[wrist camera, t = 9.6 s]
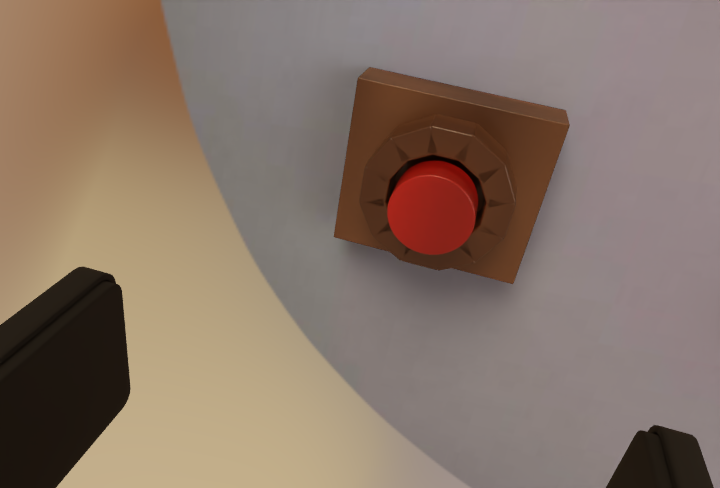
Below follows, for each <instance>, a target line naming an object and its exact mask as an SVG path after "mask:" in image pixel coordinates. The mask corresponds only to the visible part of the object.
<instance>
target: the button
mask: <svg viewBox="0 0 720 488" xmlns="http://www.w3.org/2000/svg"><path fill="white" fill-rule="evenodd" d="M477 208H478V194H477V190H476V187H475V185H474V183H473V181H472V180H471V178H470V177H469V176H468V175H467V174H466V173H465V172H464V171H463V170H462V169H460V168H459V167H457V166H455V165H453V164H451V163H448V162H444V161H436V160H432V161H425V162H421V163H418V164H416V165H414V166H412V167H411V168H409V169H408V170H407V171H406V172H404V174H403V175H402V176H401V177H400V179H399V181H398V183H397V185H396V187H395V189H394V191H393V193H392V195H391V197H390V199H389V203H388V207H387V217H388V222H389V226H390V228H391V230H392V232H393V233H394V235H395V236H396V238H397V239H398V240H399V241H400V242H401V243H402V244H404V245H405V246H406V247H408V248H410V249H411V250H414V251H416V252H419V253H422V254H428V255H439V254H445V253H448V252H451V251H453V250H455V249H457V248H459V247H460V246H461V245H463V244H464V243H465V242H466V241H467V239H468V238H469V237H470V235H471V233H472V231H473V229H474V226H475V221H476V214H477Z"/></svg>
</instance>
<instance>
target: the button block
mask: <svg viewBox="0 0 720 488" xmlns="http://www.w3.org/2000/svg"><path fill="white" fill-rule="evenodd" d="M569 126H570V125H569V121H568V117H567V113H566V110H562V109H557V108H553V107H548V106H543V105H539V104H534V103H530V102H525V101H521V100H516V99H512V98H507V97H503V96H498V95H494V94H489V93H484V92H480V91H475V90H471V89H466V88H462V87H457V86H453V85H448V84H444V83H439V82H435V81H430V80H425V79H421V78H416V77H412V76H407V75H403V74H398V73H394V72H389V71H385V70H380V69H376V68H371V67H369V68H368V69H367V70H366V71H365V72H364V73H363V74H362V75H361V76H359V77H358V81H357V87H356V94H355V100H354V107H353V113H352V120H351V127H350V133H349V140H348V146H347V153H346V159H345V166H344V173H343V179H342V186H341V192H340V199H339V205H338V212H337V219H336V225H335V232H334V237H336V238H340V239H344V240H347V241H351V242H355V243H359V244H363V245H366V246H370V247H374V248H378V249H382V250H385V251H389V252H391V253H392V254H393V255H394V256H396V257H397V258H398V259H399V260H402V261H405V262H408V263H412V264H416V265H420V266H423V267H427V268H431V269H435V270H437V269H438V270H443V269H448V268H454V269H458V270H461V271H465V272H469V273H473V274H477V275H480V276H484V277H488V278H492V279H496V280H499V281H503V282H507V283H511V284H513V283H514V280H515V277H516V274H517V271H518V269H519V266H520V263H521V260H522V257H523V255H524V252H525V249H526V246H527V243H528V241H529V238H530V235H531V232H532V229H533V227H534V224H535V221H536V218H537V215H538V213H539V210H540V207H541V204H542V201H543V199H544V196H545V193H546V190H547V187H548V185H549V182H550V179H551V176H552V173H553V171H554V168H555V165H556V162H557V159H558V157H559V154H560V151H561V148H562V145H563V143H564V140H565V137H566V134H567V131H568V129H569ZM432 160H436V161H444V162H448V163H451V164H453V165H455V166H457V167H459V168H460V169H462V170H463V171H464V172H465V173H466V174H467V175H468V176H469V177H470V178H471V180H472V181H473V183H474V185H475V187H476V190H477V194H478V208H477V214H476V221H475V226H474V229H473V231H472V233H471V235H470V237H469V238H468V239H467V241H466V242H465V243H464V244H463V245H461V246H460V247H459V248H457V249H455V250H453V251H451V252H448V253H445V254H439V255H428V254H422V253H419V252H416V251H414V250H411V249H410V248H408V247H406V246H405V245H404V244H402V243H401V242H400V241H399V240H398V239H397V238H396V236H395V235H394V233H393V232H392V230H391V228H390V226H389V222H388V217H387V207H388V203H389V199H390V197H391V195H392V193H393V191H394V189H395V187H396V185H397V183H398V181H399V179H400V177H401V176H402V175H403V174H404V172H406V171H407V170H408V169H409V168H411V167H412V166H414V165H416V164H418V163H421V162H425V161H432Z"/></svg>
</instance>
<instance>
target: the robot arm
mask: <svg viewBox="0 0 720 488" xmlns="http://www.w3.org/2000/svg"><path fill="white" fill-rule="evenodd" d="M129 394H130V379H129V367H128V357H127V344H126V333H125V321H124V310H123V298H122V290H121V287H120V286H119V285H118V284H116V282H115V279H114V277H113V276H112V275H111V274H108V273H104V272H101V271H97V270H94V269H90V268H86V267H78V268H76V269H75V270H73V271H72V272H71V273H69V274H68V275H66V276H65V277H64V278H62V279H61V280H60V281H59V282H57V283H56V284H54V285H53V286H52V287H50V288H49V289H48V290H47V291H45V292H44V293H42V294H41V295H40V296H38V297H37V298H36V299H34V300H33V301H32V302H31V303H29V304H28V305H26V306H25V307H24V308H22V309H21V310H20V311H18V312H17V313H16V314H14V315H13V316H12V317H11V318H9V319H8V320H6V321H5V322H4V323H3V324H1V325H0V488H56V487H57V486H58V484H59V483H60V482H61V481H62V480H63V478H64V477H65V476H66V475H67V474H68V473H69V471H70V470H71V469H72V468H73V467H74V465H75V464H76V463H77V462H78V460H80V458H81V457H82V456H83V455H84V454H85V452H86V451H87V450H88V449H89V448H90V446H91V445H92V444H93V443H94V442H95V440H96V439H97V438H98V437H99V436H100V435H101V433H102V432H103V431H104V430H105V429H106V427H107V426H108V425H109V424H110V423H111V422H112V420H113V419H114V418H115V417H116V416H117V414H118V413H119V412H120V411H121V410H122V408H123V407H124V405H125V404H126V402H127V400H128V397H129ZM606 488H714V487H713V484H712V482H711V479H710V476H709V473H708V470H707V467H706V464H705V461H704V458H703V455H702V452H701V450H700V447H699V444H698V442H697V440H696V438H695V437H694V436H693V435H690V434H687V433H683V432H679V431H676V430H672V429H669V428H665V427H661V426H658V425H654V426H652V427H651V428H650V429H649V431H648V432H646V431H641V430H640V431H638V432H637V433H636V435H635V436H634V438H633V440H632V442H631V444H630V445H629V447H628V449H627V451H626V453H625V454H624V456H623V458H622V460H621V462H620V463H619V465H618V467H617V469H616V470H615V472H614V474H613V476H612V478H611V479H610V481H609V483H608V485H607V487H606Z"/></svg>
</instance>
